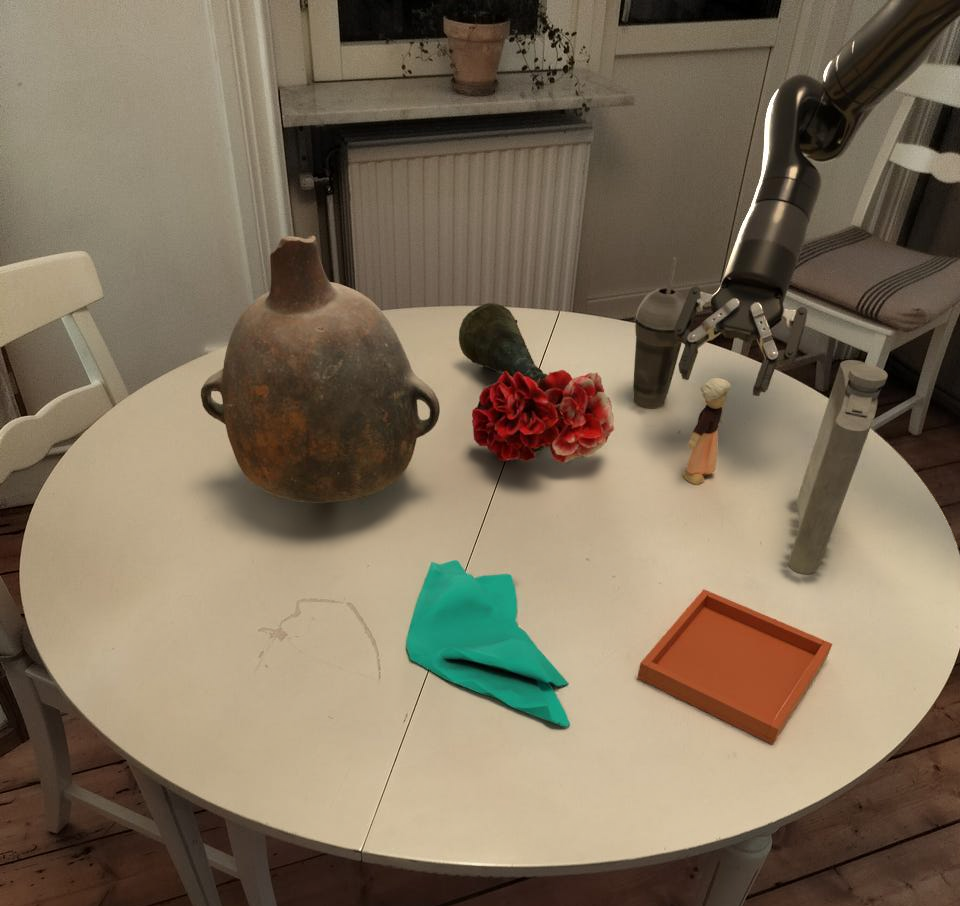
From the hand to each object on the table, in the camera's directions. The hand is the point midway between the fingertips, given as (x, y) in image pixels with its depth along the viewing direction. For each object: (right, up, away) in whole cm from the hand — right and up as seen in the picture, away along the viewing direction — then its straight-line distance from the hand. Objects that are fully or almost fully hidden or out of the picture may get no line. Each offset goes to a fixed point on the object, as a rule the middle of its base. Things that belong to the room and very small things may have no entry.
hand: (719, 385), depth 101 cm
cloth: (-29, -30, -16) cm, 45 cm away
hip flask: (+10, -18, -2) cm, 21 cm away
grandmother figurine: (-1, -9, +7) cm, 12 cm away
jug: (-46, -12, +3) cm, 48 cm away
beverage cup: (-4, +4, +21) cm, 22 cm away
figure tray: (-4, -33, -18) cm, 38 cm away
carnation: (-23, 0, +17) cm, 29 cm away
